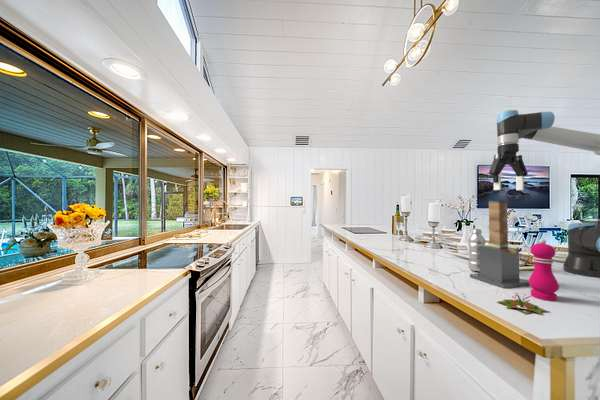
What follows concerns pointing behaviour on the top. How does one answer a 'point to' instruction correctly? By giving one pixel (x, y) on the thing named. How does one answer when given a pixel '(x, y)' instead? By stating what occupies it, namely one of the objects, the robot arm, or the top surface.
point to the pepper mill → (543, 272)
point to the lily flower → (520, 303)
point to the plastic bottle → (475, 249)
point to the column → (498, 224)
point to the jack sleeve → (500, 267)
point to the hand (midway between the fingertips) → (508, 190)
